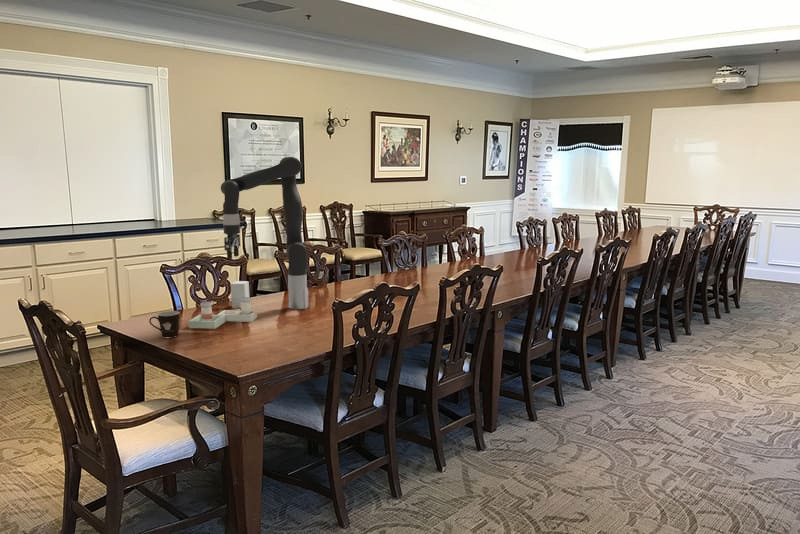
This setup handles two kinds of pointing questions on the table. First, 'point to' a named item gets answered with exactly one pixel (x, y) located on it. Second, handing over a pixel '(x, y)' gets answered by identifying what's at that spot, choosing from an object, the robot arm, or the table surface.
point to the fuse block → (238, 316)
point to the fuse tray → (207, 322)
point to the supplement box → (239, 292)
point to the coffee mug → (168, 323)
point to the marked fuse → (206, 311)
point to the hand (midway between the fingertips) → (233, 257)
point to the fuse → (245, 305)
